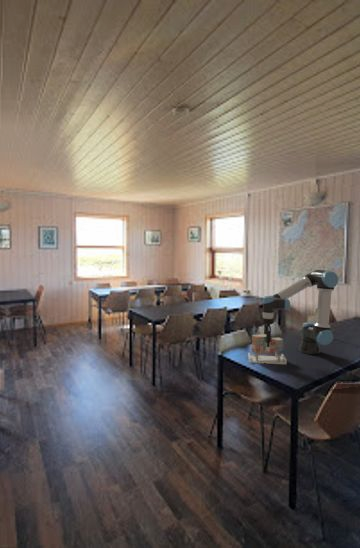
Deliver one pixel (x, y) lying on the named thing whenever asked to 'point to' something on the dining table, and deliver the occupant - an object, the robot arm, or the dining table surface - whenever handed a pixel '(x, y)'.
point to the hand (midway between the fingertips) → (266, 349)
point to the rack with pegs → (267, 359)
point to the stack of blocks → (260, 344)
